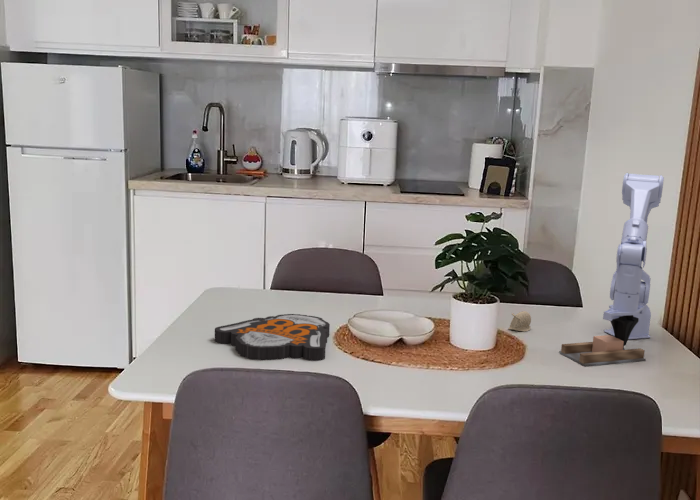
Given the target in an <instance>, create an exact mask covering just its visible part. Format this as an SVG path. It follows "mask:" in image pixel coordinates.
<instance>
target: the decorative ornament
mask: <svg viewBox="0 0 700 500" xmlns="http://www.w3.org/2000/svg"><path fill="white" fill-rule="evenodd" d="M511 315H512V317H513V318H512V320H511V321H510V325H509V327H508V328H507V330H514V331H518V332H529V331H530V330H531V323H532V317H531V314H530V312H528V311H525V310H524V311H519V312H518V313H516V314H515V313H513V312H511Z"/></svg>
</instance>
